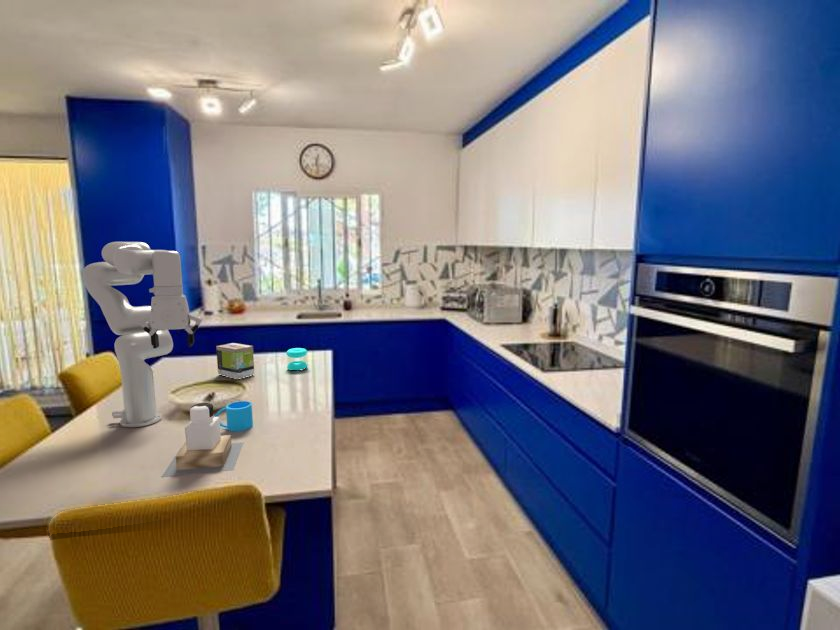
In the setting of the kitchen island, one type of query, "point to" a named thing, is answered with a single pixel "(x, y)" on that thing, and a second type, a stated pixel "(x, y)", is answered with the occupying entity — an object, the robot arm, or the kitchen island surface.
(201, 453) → the oak block
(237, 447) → the grey square mat
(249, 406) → the mug
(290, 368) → the turquoise hourglass
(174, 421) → the kitchen island surface
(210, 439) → the medicine bottle
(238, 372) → the tea box
